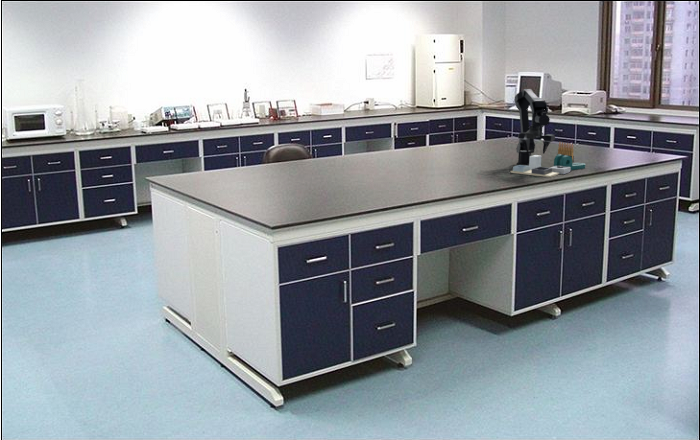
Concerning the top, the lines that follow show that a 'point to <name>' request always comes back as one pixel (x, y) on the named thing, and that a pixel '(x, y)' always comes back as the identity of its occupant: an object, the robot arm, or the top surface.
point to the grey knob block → (561, 169)
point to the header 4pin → (541, 170)
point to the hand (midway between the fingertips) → (535, 152)
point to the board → (536, 174)
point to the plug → (534, 161)
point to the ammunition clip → (566, 150)
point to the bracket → (561, 161)
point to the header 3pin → (521, 168)
